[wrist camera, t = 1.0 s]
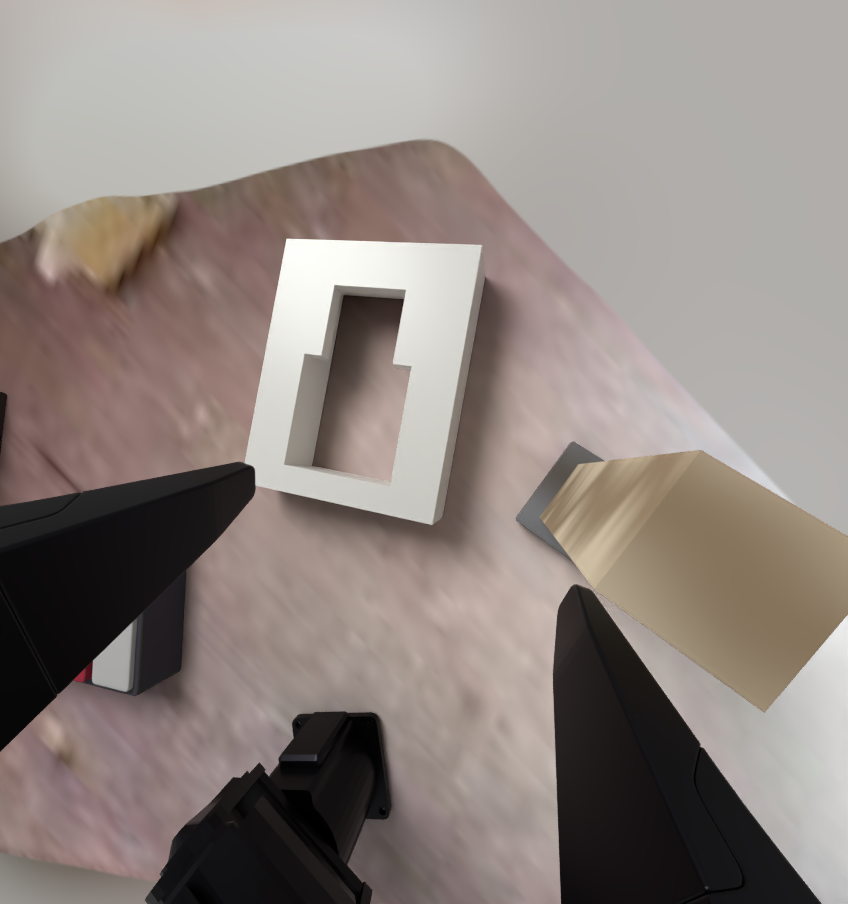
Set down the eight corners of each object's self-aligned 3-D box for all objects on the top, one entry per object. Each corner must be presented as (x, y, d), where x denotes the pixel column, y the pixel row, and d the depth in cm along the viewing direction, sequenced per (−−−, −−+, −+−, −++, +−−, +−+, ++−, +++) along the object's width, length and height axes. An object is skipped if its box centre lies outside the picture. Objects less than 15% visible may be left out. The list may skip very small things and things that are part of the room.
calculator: (2, 531, 29) (135, 544, 25) (67, 524, 33) (190, 534, 29) (-10, 668, 29) (125, 705, 24) (58, 643, 33) (183, 671, 29)
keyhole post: (597, 576, 22) (781, 784, 7) (515, 518, 23) (532, 595, 9) (657, 498, 21) (982, 553, 7) (570, 443, 23) (686, 389, 8)
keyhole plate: (442, 517, 24) (432, 525, 21) (273, 481, 27) (240, 482, 24) (485, 276, 25) (482, 245, 21) (313, 267, 28) (286, 239, 24)
